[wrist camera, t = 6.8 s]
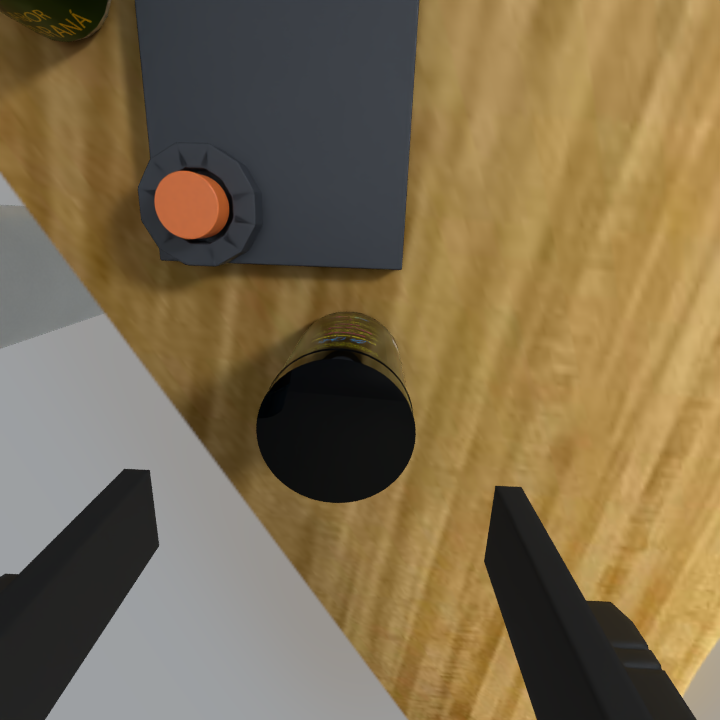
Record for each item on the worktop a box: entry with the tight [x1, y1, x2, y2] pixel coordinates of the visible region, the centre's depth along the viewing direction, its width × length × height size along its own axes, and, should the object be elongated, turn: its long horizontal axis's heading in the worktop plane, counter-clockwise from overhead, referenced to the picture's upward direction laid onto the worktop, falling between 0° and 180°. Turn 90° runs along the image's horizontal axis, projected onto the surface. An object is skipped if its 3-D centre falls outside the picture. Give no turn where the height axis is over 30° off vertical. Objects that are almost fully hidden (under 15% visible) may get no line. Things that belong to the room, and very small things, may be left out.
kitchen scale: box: [135, 0, 419, 270], centre depth 23 cm, size 14×16×3 cm
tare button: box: [154, 171, 229, 239], centre depth 22 cm, size 3×3×2 cm
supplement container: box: [256, 312, 416, 503], centre depth 23 cm, size 7×7×10 cm
